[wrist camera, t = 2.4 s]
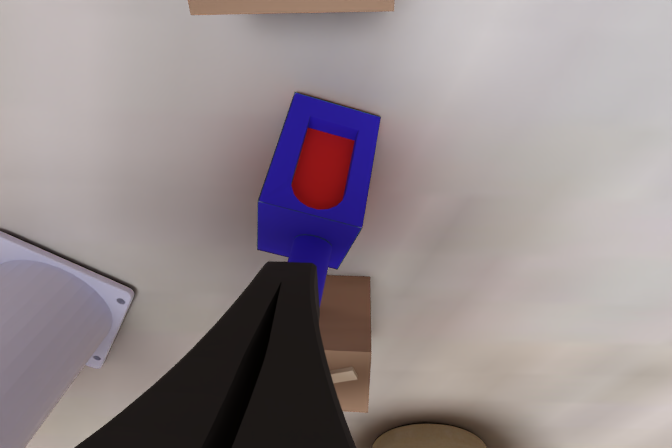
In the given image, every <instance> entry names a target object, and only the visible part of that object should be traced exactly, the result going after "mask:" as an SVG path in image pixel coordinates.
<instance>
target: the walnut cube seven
mask: <svg viewBox="0 0 672 448" xmlns="http://www.w3.org/2000/svg"><path fill="white" fill-rule="evenodd" d="M319 328H320V333H321V338H322V342H323V346H324V351H325V355H326V359H327V362H328V366H329V370H330V373H331V377H332V380H333V383H334V387H335V390H336V393H337V396H338V399H339V402H340V405H341V408H342V411H348V412H366V413H368V401H369V383H370V366H371V301H370V277H364V276H333V275H326V280H325V284H324V289H323V294H322V299H321V304H320V317H319Z"/></svg>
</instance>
